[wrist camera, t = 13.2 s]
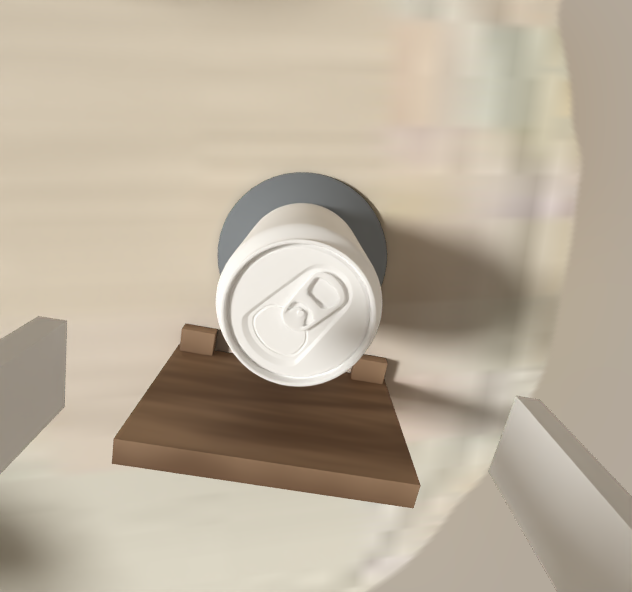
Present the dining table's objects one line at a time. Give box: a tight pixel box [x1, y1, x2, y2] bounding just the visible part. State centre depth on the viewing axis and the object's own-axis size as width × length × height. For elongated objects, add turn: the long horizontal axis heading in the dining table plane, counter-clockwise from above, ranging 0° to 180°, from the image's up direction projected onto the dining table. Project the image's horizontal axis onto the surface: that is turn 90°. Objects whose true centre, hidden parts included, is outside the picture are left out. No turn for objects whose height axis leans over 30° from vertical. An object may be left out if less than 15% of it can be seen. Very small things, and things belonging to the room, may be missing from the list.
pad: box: [218, 173, 387, 286], centre depth 32 cm, size 12×12×1 cm
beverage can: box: [216, 203, 382, 387], centre depth 26 cm, size 8×8×12 cm
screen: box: [112, 324, 420, 508], centre depth 29 cm, size 5×16×12 cm, turn 79°
